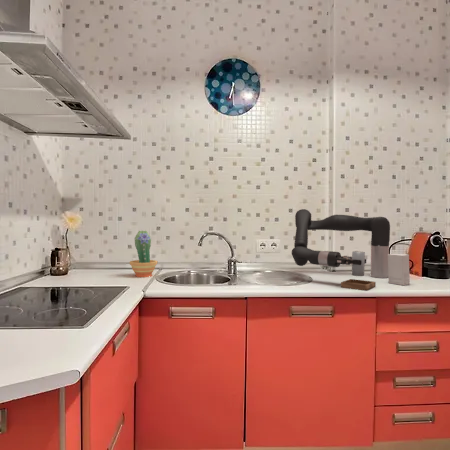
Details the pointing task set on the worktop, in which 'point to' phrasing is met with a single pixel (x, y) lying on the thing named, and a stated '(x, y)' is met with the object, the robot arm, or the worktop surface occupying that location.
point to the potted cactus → (143, 256)
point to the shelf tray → (358, 284)
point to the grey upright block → (358, 269)
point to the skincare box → (398, 269)
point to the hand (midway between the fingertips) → (363, 261)
